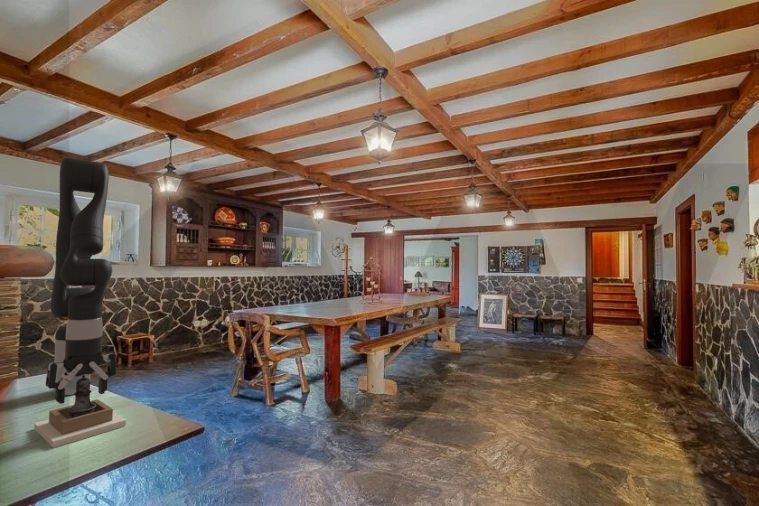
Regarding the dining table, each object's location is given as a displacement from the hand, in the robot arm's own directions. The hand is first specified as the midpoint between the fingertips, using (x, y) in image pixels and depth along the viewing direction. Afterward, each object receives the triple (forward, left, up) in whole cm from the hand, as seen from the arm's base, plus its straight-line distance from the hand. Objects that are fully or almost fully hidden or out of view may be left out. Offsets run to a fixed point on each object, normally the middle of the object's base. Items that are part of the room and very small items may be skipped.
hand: (81, 397), depth 98 cm
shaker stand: (0, 0, -8) cm, 8 cm away
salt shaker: (0, 0, -6) cm, 6 cm away
